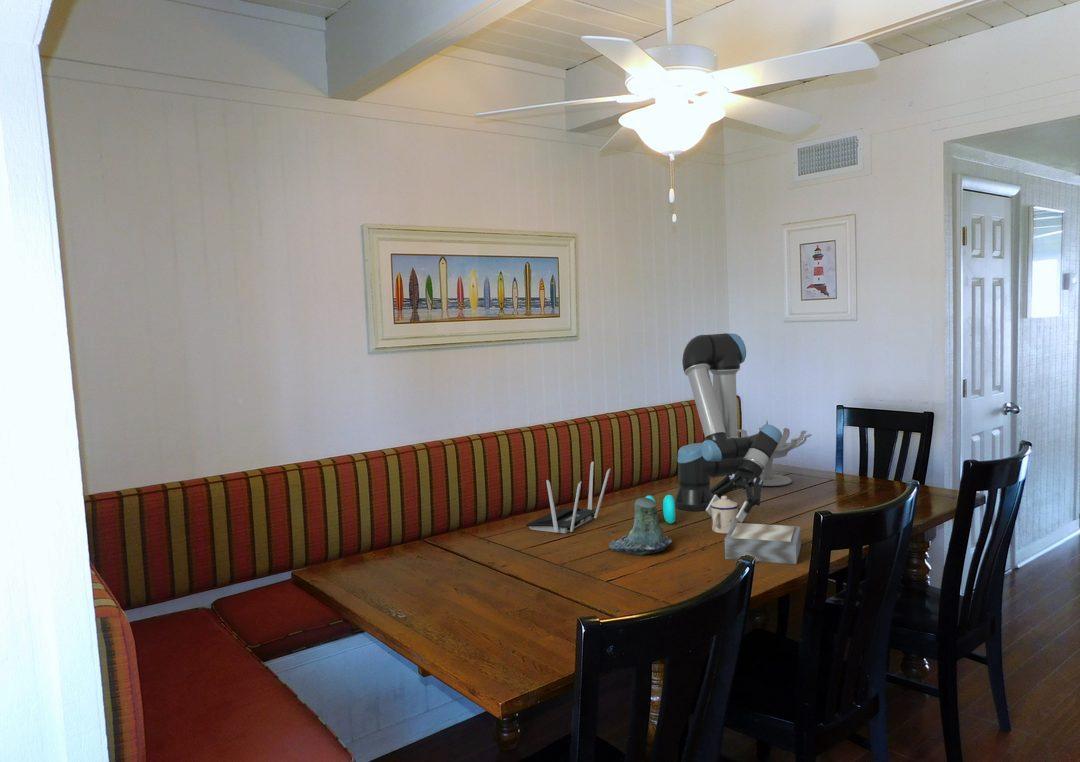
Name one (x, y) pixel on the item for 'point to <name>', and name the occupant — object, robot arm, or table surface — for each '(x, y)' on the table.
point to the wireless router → (568, 511)
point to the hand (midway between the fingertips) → (723, 516)
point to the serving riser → (764, 542)
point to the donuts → (667, 508)
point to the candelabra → (780, 451)
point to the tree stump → (643, 532)
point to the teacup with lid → (724, 515)
